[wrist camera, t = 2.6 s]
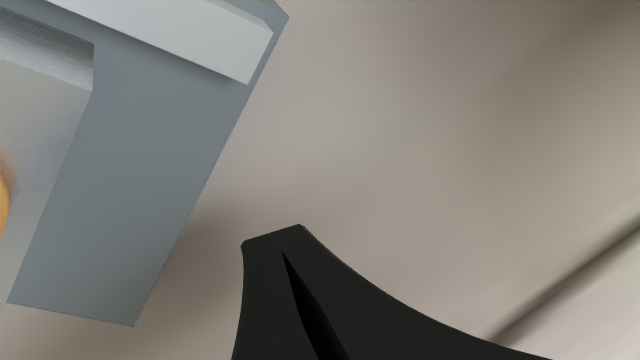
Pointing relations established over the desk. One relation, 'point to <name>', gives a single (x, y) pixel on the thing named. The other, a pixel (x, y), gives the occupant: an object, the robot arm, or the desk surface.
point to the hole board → (139, 142)
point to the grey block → (35, 125)
